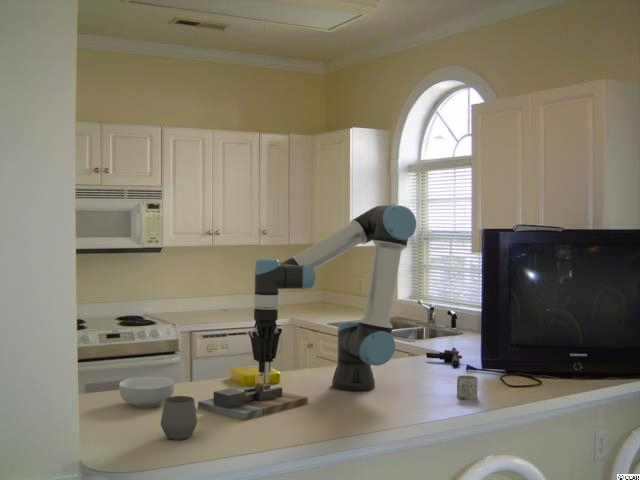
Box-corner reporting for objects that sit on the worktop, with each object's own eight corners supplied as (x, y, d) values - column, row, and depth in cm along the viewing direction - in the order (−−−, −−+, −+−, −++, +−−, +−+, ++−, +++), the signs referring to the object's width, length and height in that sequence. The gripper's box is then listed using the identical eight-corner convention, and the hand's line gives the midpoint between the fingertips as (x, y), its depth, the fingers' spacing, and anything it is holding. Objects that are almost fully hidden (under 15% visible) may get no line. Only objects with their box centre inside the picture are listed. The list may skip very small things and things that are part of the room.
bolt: (260, 395, 226) (261, 373, 226) (267, 396, 224) (267, 374, 224) (237, 400, 218) (237, 377, 218) (244, 402, 216) (244, 379, 216)
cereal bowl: (115, 400, 226) (115, 378, 225) (168, 396, 232) (168, 374, 232) (123, 413, 210) (123, 389, 210) (179, 408, 216) (179, 385, 216)
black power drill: (425, 356, 293) (462, 357, 290) (426, 343, 312) (461, 345, 309) (425, 368, 294) (462, 370, 291) (426, 355, 313) (461, 357, 310)
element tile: (267, 376, 269) (267, 363, 269) (281, 384, 255) (282, 371, 255) (229, 379, 262) (229, 366, 262) (241, 387, 249) (242, 373, 249)
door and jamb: (263, 393, 239) (263, 387, 239) (307, 403, 226) (307, 397, 225) (197, 408, 217) (198, 401, 217) (242, 420, 204) (243, 413, 204)
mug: (461, 393, 243) (462, 374, 243) (480, 396, 239) (480, 377, 239) (449, 399, 235) (449, 379, 235) (468, 402, 231) (468, 382, 231)
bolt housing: (266, 392, 230) (266, 380, 230) (282, 396, 226) (282, 383, 226) (213, 405, 213) (213, 391, 213) (229, 409, 209) (229, 395, 209)
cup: (153, 439, 184) (153, 401, 184) (173, 430, 193) (173, 393, 193) (184, 444, 181) (185, 405, 181) (203, 434, 189) (204, 397, 189)
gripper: (272, 305, 232) (270, 377, 232) (242, 308, 222) (240, 383, 222) (288, 307, 227) (287, 381, 227) (259, 310, 217) (257, 387, 218)
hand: (264, 382), depth 225 cm, fingers closed
